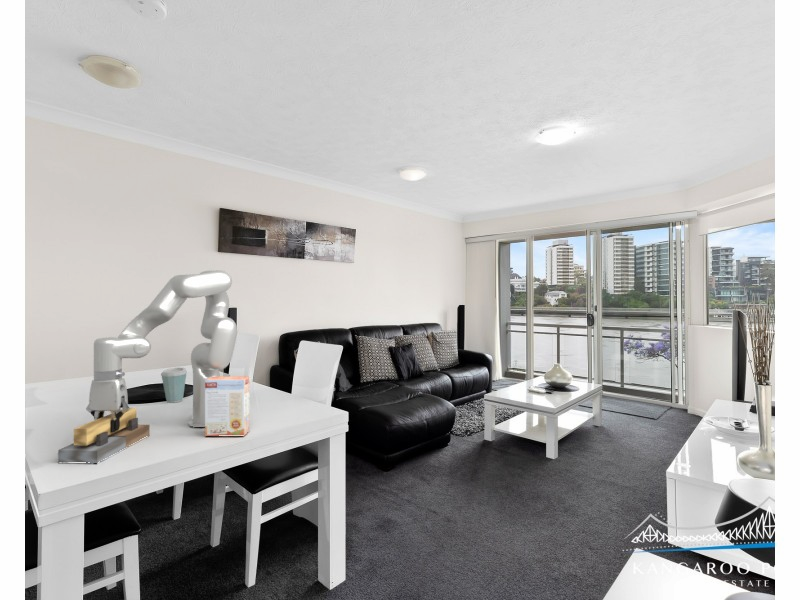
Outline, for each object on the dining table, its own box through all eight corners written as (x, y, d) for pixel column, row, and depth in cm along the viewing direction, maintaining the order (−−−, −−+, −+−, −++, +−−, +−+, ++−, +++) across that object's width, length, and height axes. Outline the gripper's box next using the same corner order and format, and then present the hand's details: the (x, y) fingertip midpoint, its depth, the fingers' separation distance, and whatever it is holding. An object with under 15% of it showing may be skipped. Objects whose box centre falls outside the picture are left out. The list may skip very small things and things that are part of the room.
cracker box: (249, 431, 150) (250, 375, 150) (244, 437, 144) (244, 379, 144) (211, 431, 150) (211, 375, 149) (204, 437, 144) (204, 379, 143)
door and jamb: (149, 435, 145) (149, 414, 145) (97, 464, 121) (97, 439, 121) (116, 434, 145) (116, 414, 145) (58, 463, 121) (58, 438, 121)
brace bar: (136, 422, 144) (136, 408, 144) (86, 445, 122) (86, 429, 122) (125, 421, 144) (125, 407, 144) (73, 445, 122) (73, 428, 122)
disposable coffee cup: (178, 404, 185) (179, 371, 185) (155, 403, 185) (155, 371, 185) (191, 398, 196) (191, 367, 195) (169, 397, 196) (169, 367, 195)
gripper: (140, 373, 136) (140, 427, 136) (92, 372, 137) (92, 426, 137) (124, 378, 129) (124, 435, 129) (73, 377, 129) (73, 434, 129)
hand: (107, 430), depth 133 cm, fingers closed on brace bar, 4 cm apart
